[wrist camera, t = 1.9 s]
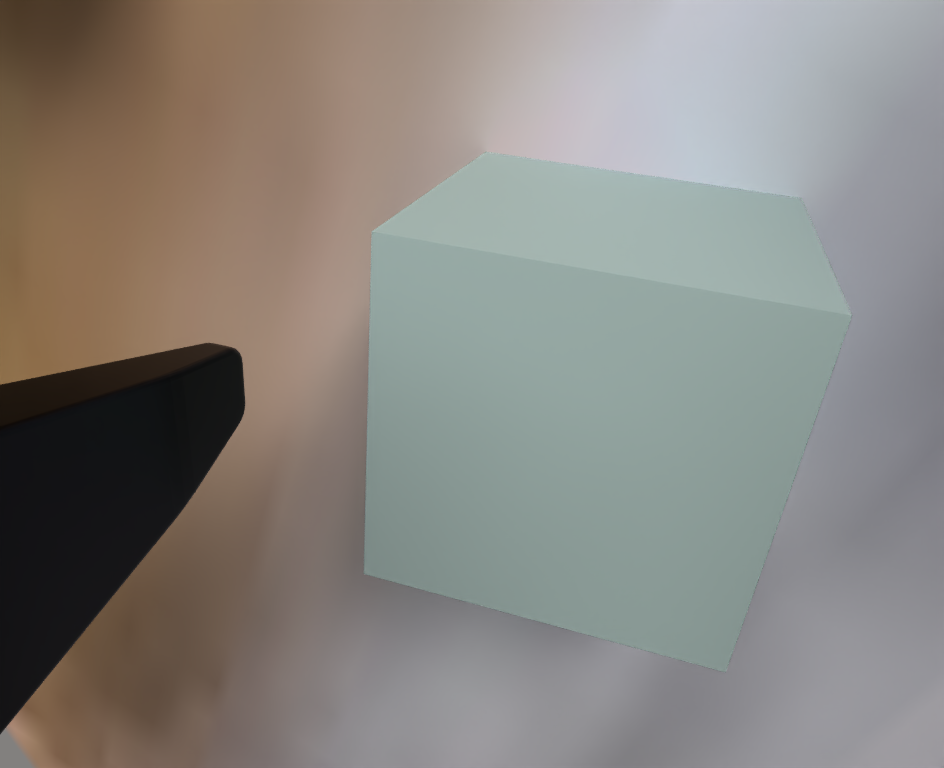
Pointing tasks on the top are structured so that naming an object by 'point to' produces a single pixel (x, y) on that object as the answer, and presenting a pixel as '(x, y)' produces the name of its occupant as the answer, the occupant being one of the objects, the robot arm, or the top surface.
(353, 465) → the top surface
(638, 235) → the painted cube
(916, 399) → the top surface
